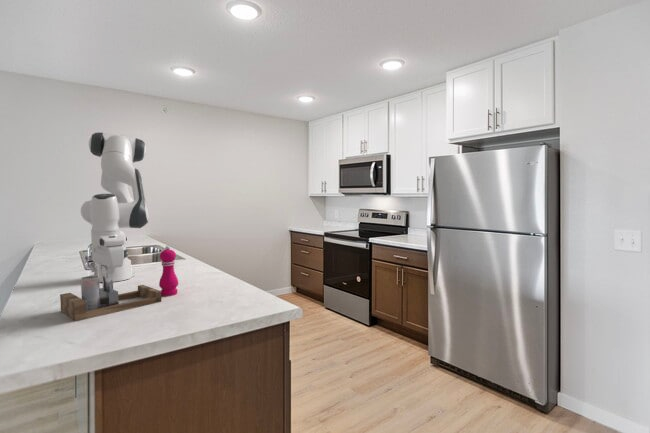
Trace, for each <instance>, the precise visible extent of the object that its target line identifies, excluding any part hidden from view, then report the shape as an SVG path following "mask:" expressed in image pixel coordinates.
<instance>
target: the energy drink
mask: <svg viewBox="0 0 650 433" xmlns="http://www.w3.org/2000/svg"><path fill="white" fill-rule="evenodd" d="M100 288H101V287H100V282H99V277H98V276H90V275H87V276H84V277H83V276H82V277H81V279H80V291H81V292H80V293H81V299H83V300H84V301H85V307H86V311H89V310H94V309H99V308H101V305H100Z"/></svg>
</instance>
